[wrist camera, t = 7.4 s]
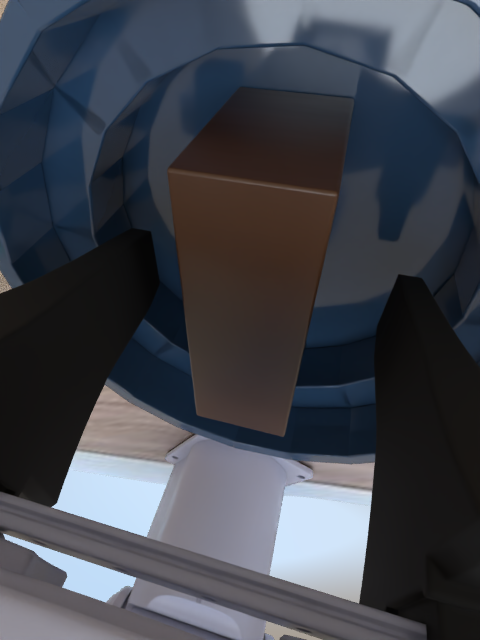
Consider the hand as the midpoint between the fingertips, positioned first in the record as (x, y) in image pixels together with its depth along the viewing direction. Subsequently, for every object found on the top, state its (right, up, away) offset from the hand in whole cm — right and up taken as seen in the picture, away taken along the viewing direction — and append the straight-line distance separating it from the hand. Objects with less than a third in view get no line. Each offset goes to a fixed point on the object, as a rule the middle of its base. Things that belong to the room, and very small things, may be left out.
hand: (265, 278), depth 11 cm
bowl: (+1, +2, +2) cm, 3 cm away
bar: (+1, +2, +2) cm, 2 cm away
